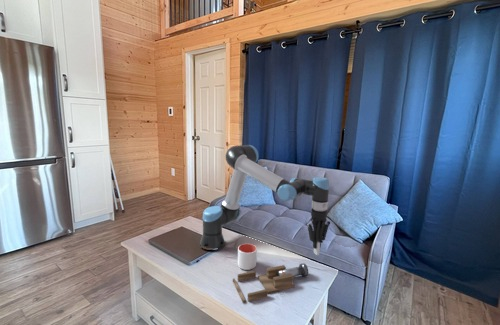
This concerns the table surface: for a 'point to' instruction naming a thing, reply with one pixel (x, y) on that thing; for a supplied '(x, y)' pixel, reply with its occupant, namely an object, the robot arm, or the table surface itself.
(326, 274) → the table surface
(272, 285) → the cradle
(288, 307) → the table surface
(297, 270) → the shaft
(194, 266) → the table surface
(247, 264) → the cup
